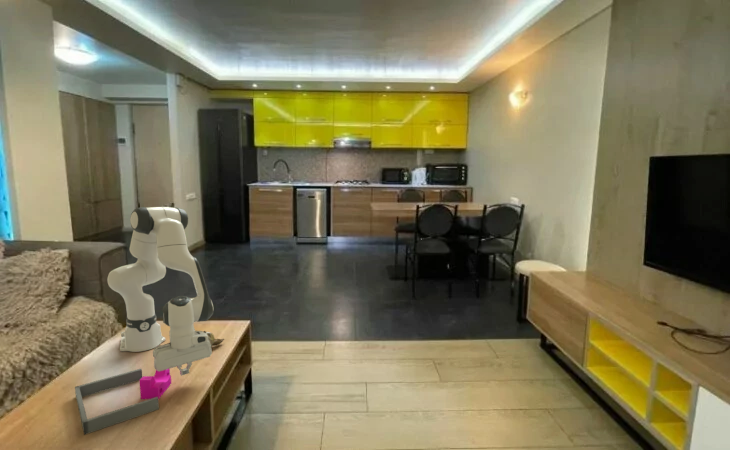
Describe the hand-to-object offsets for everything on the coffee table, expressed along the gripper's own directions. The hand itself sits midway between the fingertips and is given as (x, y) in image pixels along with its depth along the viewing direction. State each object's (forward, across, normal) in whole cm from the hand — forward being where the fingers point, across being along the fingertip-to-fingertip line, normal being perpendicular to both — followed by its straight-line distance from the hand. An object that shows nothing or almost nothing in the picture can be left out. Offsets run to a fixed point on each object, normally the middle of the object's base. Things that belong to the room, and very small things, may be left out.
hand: (184, 373), depth 156 cm
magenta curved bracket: (+4, -8, +2) cm, 10 cm away
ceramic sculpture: (+4, +16, +25) cm, 30 cm away
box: (+4, -22, +1) cm, 22 cm away
